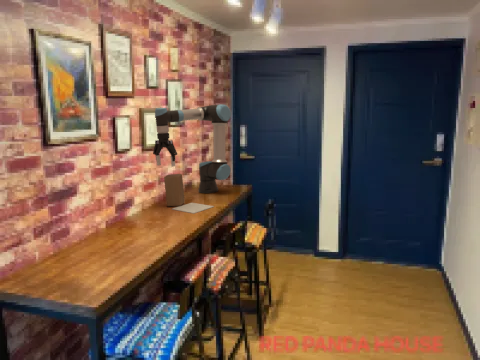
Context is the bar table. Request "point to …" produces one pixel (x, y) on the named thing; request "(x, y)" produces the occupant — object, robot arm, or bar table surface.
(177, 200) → the wooden block
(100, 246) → the bar table surface
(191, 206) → the mat
